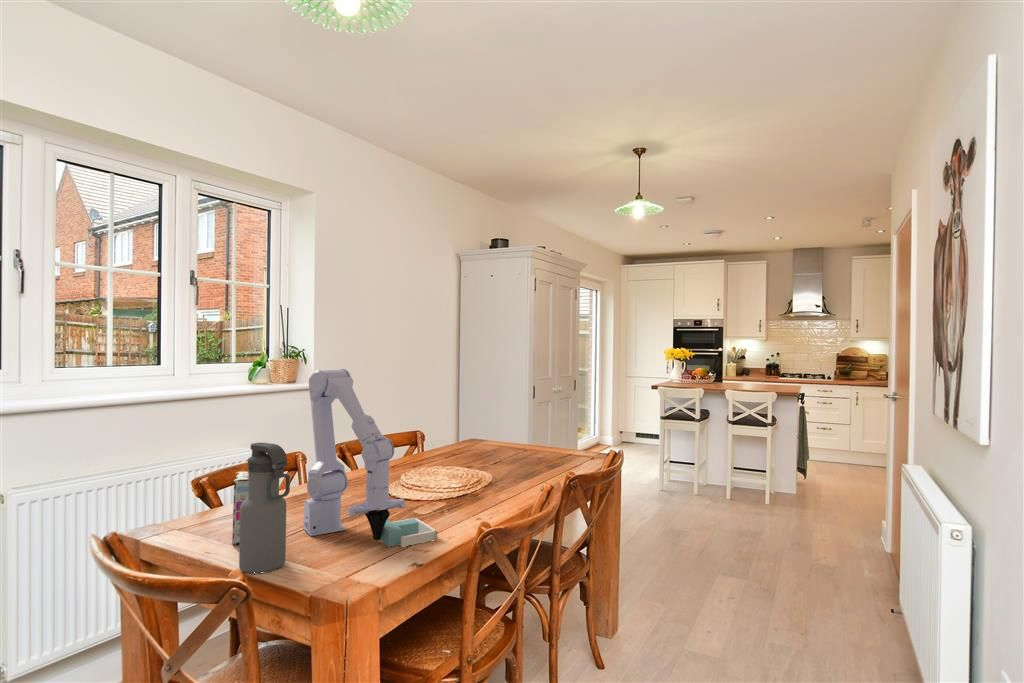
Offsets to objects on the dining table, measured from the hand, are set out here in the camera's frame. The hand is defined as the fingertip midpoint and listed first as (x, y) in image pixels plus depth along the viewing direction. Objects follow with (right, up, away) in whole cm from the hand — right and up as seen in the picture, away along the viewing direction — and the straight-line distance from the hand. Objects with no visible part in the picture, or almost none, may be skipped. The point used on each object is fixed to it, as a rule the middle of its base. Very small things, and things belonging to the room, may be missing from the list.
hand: (376, 539), depth 147 cm
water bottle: (-22, -1, -16) cm, 28 cm away
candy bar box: (-35, -1, +3) cm, 35 cm away
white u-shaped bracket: (+7, -1, +5) cm, 9 cm away
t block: (+5, -1, +4) cm, 6 cm away
